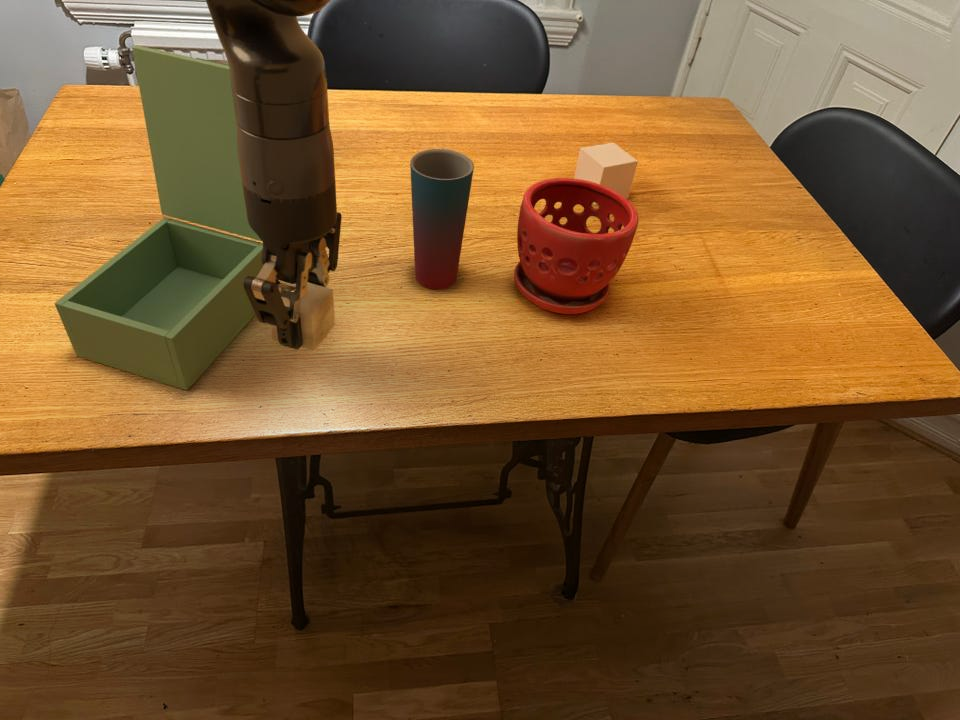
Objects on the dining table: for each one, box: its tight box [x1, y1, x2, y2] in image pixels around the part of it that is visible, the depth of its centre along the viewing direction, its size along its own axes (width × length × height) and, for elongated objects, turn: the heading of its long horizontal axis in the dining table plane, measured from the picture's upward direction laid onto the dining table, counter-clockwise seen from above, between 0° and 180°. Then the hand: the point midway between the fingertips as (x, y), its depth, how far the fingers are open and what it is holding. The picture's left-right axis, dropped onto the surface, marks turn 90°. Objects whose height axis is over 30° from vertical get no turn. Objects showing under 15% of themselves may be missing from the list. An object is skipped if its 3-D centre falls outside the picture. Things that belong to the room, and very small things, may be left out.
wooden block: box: [270, 282, 336, 352], centre depth 68 cm, size 4×4×4 cm
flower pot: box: [513, 177, 640, 315], centre depth 81 cm, size 13×13×12 cm
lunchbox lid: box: [131, 44, 262, 242], centre depth 72 cm, size 17×13×5 cm
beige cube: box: [573, 142, 639, 206], centre depth 101 cm, size 6×6×6 cm
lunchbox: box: [54, 216, 263, 391], centre depth 72 cm, size 17×13×7 cm
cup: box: [409, 148, 475, 290], centre depth 79 cm, size 7×7×15 cm
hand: (304, 329), depth 69 cm, fingers closed on wooden block, 4 cm apart
